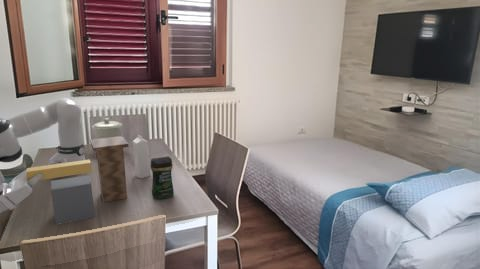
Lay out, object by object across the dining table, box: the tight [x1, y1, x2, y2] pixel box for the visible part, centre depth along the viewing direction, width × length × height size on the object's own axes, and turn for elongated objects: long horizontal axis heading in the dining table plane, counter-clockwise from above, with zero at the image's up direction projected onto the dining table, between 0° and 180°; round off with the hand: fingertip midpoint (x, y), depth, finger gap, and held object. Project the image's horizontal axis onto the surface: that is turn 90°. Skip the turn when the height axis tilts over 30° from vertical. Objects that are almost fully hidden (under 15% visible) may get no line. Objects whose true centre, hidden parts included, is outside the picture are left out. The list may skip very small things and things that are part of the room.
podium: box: [50, 174, 96, 225], centre depth 139 cm, size 14×10×14 cm
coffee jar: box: [150, 155, 175, 200], centre depth 157 cm, size 10×8×19 cm
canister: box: [91, 117, 123, 139], centre depth 224 cm, size 18×18×21 cm
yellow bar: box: [25, 158, 93, 181], centre depth 134 cm, size 22×4×4 cm, turn 118°
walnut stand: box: [89, 135, 130, 203], centre depth 156 cm, size 14×14×26 cm
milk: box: [132, 134, 151, 179], centre depth 181 cm, size 6×6×22 cm
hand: (41, 171), depth 131 cm, fingers closed on yellow bar, 4 cm apart
